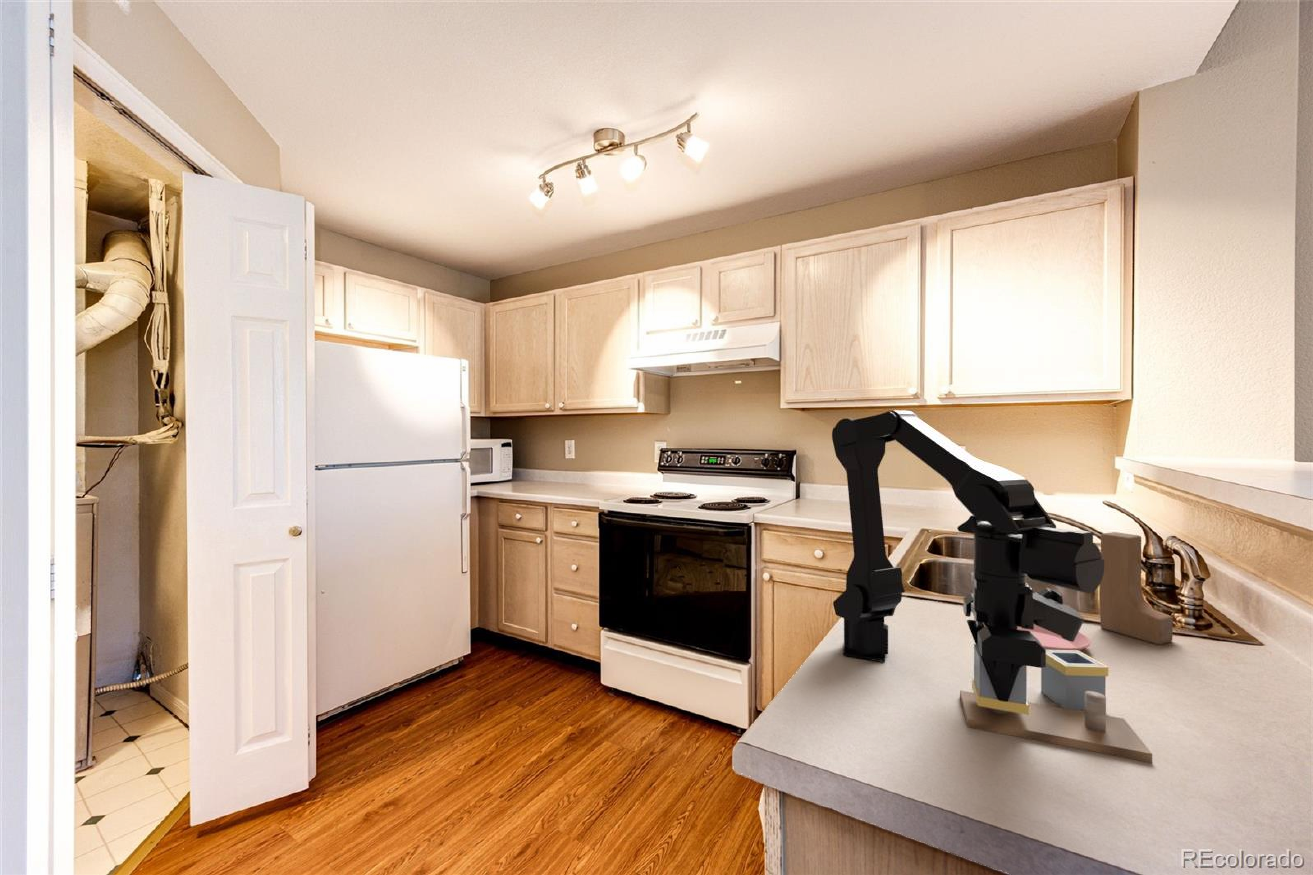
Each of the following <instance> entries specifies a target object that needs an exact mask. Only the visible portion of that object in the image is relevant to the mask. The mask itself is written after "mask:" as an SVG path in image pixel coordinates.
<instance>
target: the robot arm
mask: <svg viewBox="0 0 1313 875" xmlns="http://www.w3.org/2000/svg"><path fill="white" fill-rule="evenodd" d="M831 431H832V433H831V440H832V444H833V448H834V449H833V450H834V454H835V457H836V459H837V460H838V462H840V464H841V466H842V467H843V468H844V471H845V472H846V481H847V493H848V502H849V504H848V505H849V512H850V513H849V514H850V515H849V516H850V524H851V525H850V526H851V533H852V534H851V535H852V536H851V537H852V546H853V558H852V561H851V563H850V565H849V568H848V570H847V572H846V576H845V577H846V578H845V580H846V582H845V583H846V584H845V590H844V591H843V592H842V593H841V594H840V595H839V596H838V597H836V598H835V600H834V601H833V602H832V606H833V609H834V613H835V615H836V616H838V617H840V618H842V619H843V646H842V647H843V648H842V651H841V652H842V655H843V656H845V657H846V656H847V657H852V658H856V659H857V658H860V659H865V660H871V661H878V662H885V661H886V656H887V655H888V654H889V625H888V624H886V623H885V617H893V616H894V614H895V612H896V609H897V606H898V605H899V604H901V602H902V600H903V599H902V598H903V597H902V596H903V593H905V592H906V591H905V588H904V586H903V585H904V584H903V572H902V569H901V567H900V566H896V567H895V566H893V564H892V562H891V561H890V560H889V558H888V556H887V553H886V551H887V550H886V542H885V532H884V523H883V513H882V512H883V511H882V502H881V501H882V500H881V491H880V482H879V481H880V480H879V467H880V466H881V462H882V461H883V459H884V456H885V454H886V443H890V442H894V441H896V442H898V444H900V445H901V446H902V447H904V448H905V449H906V450H907V451H908V452H910V453H911V454H913V455H914V456H915V457H916V458H918V459H919V460H920V461H921V462H923V463H924V464H925V465H927V466H928V467H930V468H931V469H932V470H933V471H934V472H936V473H937V474H938V475H940V476H941V477H942V478H944V479H945V480H946V482H948V483H949V484H950V486H951V489H952V491H953V493H954V496H955V498H956V499H957V500H958V501H959V502H960V503H961V504H962V505H963V506H964V507H965V509H966V510H968V512H969V513H970V514H971V515H970V516H969V517H968V519H967V520H966V521H964V522H963V523H962V524H961V523H960V525H958V526H957V530H958V532H960V533H965V534H971V535H973V572H971V573H970V574H971V575H970V578H971V579H970V580H971V582H972V583H973V592H969V593H968V594H967V595H966V596H964V597H963V600H962V602H963V603H962V605H963V606H962V607H963V608H962V611H963V613H964V616H965V617H968V618H969V617H971V615H972V616H973V619H967V620H966V623H967V626H968V629H969V631H970V633H971V636H972V638H973V641H974V644H976V646H977V649H978V651H979V654H980V657H981V659H982V662H983V664H984V667H985V669H986V672H987V674H988V676H989V679H990V682H991V684H992V687H993V689H994V692H995V694H996V697H997V699H998V700H999V701H1004V702H1007V701H1008V700H1009V697H1010V694H1011V691H1012V689H1013V686H1014V683H1015V680H1016V677H1017V675H1018V672H1019V670H1020V668H1021V667H1022V666H1024V665H1025V666H1027V667H1031V668H1032V667H1033V668H1038V669H1039V668H1040V669H1041V668H1043V667H1046V650H1045V649H1044V647H1043V646H1042V644H1041V643H1040V642H1039V640H1038V639H1037V638H1036V637H1035V636H1034V635H1033V634H1032V633H1031V632H1030V631H1024V630H1019V629H1018V628H1017V627H1021V628H1024V629H1032V630H1034V624H1035V625H1037V626H1039V627H1041V628H1044V629H1046V630H1048V631H1051V632H1053V633H1056V634H1058V635H1060V636H1061V637H1062V638H1063V639H1066V640H1068V641H1071V642H1074V640H1075V638H1076V636H1077V634H1078V632H1079V631H1080V630H1081V627H1082V626H1083V624H1084V621H1085V618H1084V617H1083V615H1081V614H1080V612H1078V611H1077V609H1074V608H1073V607H1071V606H1070V605H1068V604H1064V601H1063V600H1064V599H1063V596H1062V594H1060V592H1059V591H1056V590H1054V589H1051V588H1049V587H1045V588H1043V589H1041V590H1040V591H1039V592H1036V591H1033V589H1032V587H1031V586H1030V585H1029V584H1028V583H1027V577H1028V578H1029V579H1030V580H1032V581H1035V582H1040V583H1044V584H1048V585H1051V586H1056V587H1060V588H1063V589H1064V588H1065V589H1069V590H1072V591H1075V592H1076V591H1077V592H1080V593H1085V594H1091V593H1093V592H1095V591H1096V590H1097V589H1098V588H1099V587H1100V586H1101V581H1102V578H1103V574H1104V559H1102V556H1101V549H1100V548H1099V547H1098V545H1097V544H1096V543H1094V534H1093V533H1092V531H1087V530H1079V529H1078V530H1077V529H1076V530H1068V529H1062V528H1057V525H1056V523H1055V522H1054V520H1052V518H1051V517H1050V516H1049V514H1048V513H1047V511H1046V510H1045V508H1044V507H1043V506H1042V504H1041V503H1040V502H1039V501H1038V499H1037V498H1036V495H1035V488H1034V486H1033V485H1032V483H1031V482H1030V481H1029V480H1028V479H1026V478H1025V477H1023V476H1022V475H1019V474H1017V473H1015V472H1013V471H1010V470H1009V469H1006V468H1004V467H1001V466H999V465H995V464H992V463H990V462H986V461H983V460H982V459H978V458H977V457H974V455H971V454H970V453H969V452H967V451H966V450H965V449H963V448H962V447H960V446H959V445H957V444H956V443H955V442H953V441H951V440H950V439H949V438H948V437H946V436H945V435H943V434H942V433H940V432H939V431H937V430H936V429H934V428H933V427H932V426H930V425H929V424H927V423H926V422H924V421H923V420H922V419H920V418H919V416H917V414H916V413H914V412H913V411H911V410H888V411H886V412H883V413H879V414H876V415H872V416H871V415H870V416H867V417H865V416H864V417H862V418H861V417H860V418H842V419H840V420H838V422H837V423H836V424H835V426H834V427H833V428H832V430H831ZM1018 518H1019V519H1018Z"/></svg>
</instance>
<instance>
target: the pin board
mask: <svg viewBox="0 0 1313 875" xmlns="http://www.w3.org/2000/svg"><path fill="white" fill-rule="evenodd" d="M959 699H960V703H961V706H962V711H963V714H964V718H965V721H966V722H965V723H966V726H967V727H968V728H971V729H978V730H982V731H988V732H993V733H998V734H1003V735H1008V736H1014V737H1019V738H1025V739H1029V740H1033V741H1034V740H1035V741H1039V742H1045V743H1049V744H1055V745H1060V746H1064V747H1070V748H1075V749H1080V750H1085V751H1091V752H1096V753H1100V754H1105V755H1106V754H1107V755H1111V756H1115V755H1116V757H1121V758H1127V759H1132V760H1137V761H1141V762H1147V763H1151V764H1153V752H1151V750H1150V749H1149V747H1147V746H1146V744H1145V743H1144V741H1142V739H1141V738H1140V737H1139V735H1137V733H1136V732H1135V731H1134V729H1133V728H1132V727H1131V725H1130V724H1129V723H1128V721H1127V720H1126V719H1125V718H1124V717H1116V716H1111V715H1107V696H1106V695H1105V696H1104V695H1102V694H1100V693H1097V692H1093V691H1086V692H1085V711H1077V710H1071V709H1065V708H1062V707H1061V706H1053V705H1048V704H1041V703H1035V702H1030V701H1027V703H1028V705H1029V715H1026V714H1021V713H1015V712H1010V711H1004V710H999V709H993V708H988V707H982V706H978V705H977V701H976V698H975V695H974V692H972V691H971V692H970V691H966V690H959Z"/></svg>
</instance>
